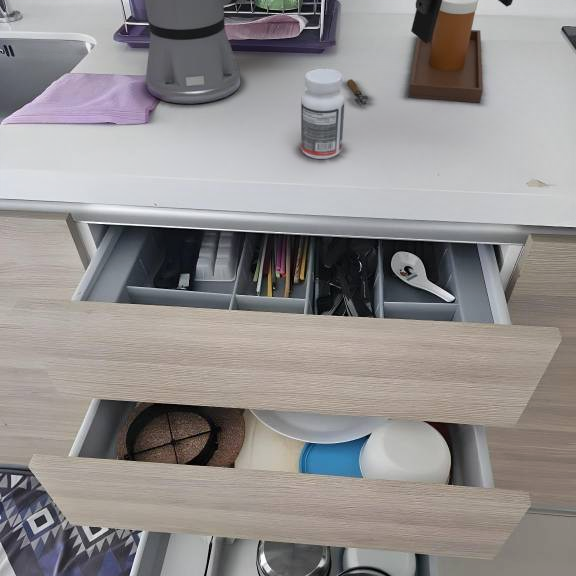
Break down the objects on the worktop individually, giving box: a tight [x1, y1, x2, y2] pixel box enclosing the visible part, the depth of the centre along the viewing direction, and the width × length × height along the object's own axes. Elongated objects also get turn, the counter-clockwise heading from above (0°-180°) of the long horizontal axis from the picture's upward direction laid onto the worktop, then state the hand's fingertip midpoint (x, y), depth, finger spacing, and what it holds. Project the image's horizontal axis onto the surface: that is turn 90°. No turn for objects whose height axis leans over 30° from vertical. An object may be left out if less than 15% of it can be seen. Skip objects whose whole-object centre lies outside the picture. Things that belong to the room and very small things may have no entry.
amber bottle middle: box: [429, 0, 479, 71], centre depth 97 cm, size 6×6×10 cm
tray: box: [407, 29, 484, 104], centre depth 100 cm, size 27×11×2 cm, turn 168°
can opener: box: [346, 78, 369, 107], centre depth 94 cm, size 9×2×1 cm, turn 6°
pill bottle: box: [300, 68, 345, 160], centre depth 77 cm, size 6×6×10 cm
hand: (462, 18), depth 71 cm, fingers open, 13 cm apart
